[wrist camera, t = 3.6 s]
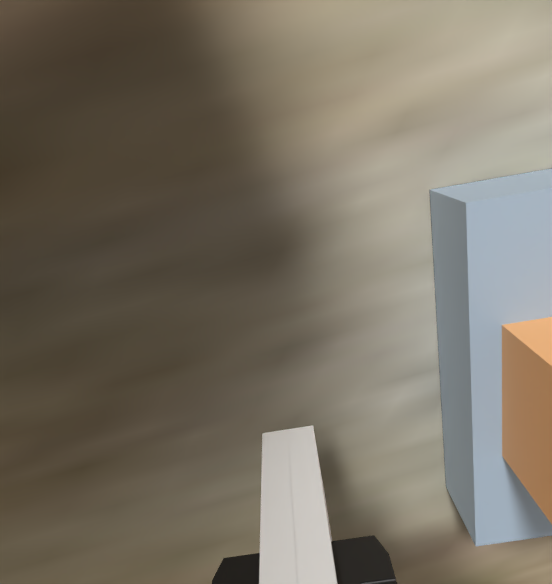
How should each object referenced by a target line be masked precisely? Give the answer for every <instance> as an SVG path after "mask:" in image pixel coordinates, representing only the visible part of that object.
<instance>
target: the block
mask: <svg viewBox="0 0 552 584" xmlns="http://www.w3.org/2000/svg"><path fill="white" fill-rule="evenodd" d="M502 456H503V458H504V459H505V460H506V462H507V463H508V465H509V466H510V467H511V469H512V470H513V472H514V473H515V474H516V476H517V477H518V478H519V480H520V481H521V483H522V484H523V485H524V487H525V488H526V489H527V491H528V492H529V494H530V495H531V496H532V498H533V499H534V501H535V502H536V503H537V505H538V506H539V507H540V509H541V510H542V512H543V513H544V514H545V516H546V517H547V519H548V520H549V521H550V523H551V524H552V317H548V318H542V319H535V320H529V321H523V322H517V323H511V324H504V325H502Z"/></svg>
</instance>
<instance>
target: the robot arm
mask: <svg viewBox="0 0 552 584" xmlns="http://www.w3.org/2000/svg"><path fill="white" fill-rule="evenodd" d="M212 584H397V582H396V579H395V575H394V571H393V568H392V564H391V561H390V557H389V554H388V553H387V551H386V550H385V549H384V548H383V546H382V545H381V544H380V542H379V541H378V540H377V539H376V537H375V536H367V537H360V538H353V539H346V540H339V541H332V537H331V530H330V524H329V517H328V511H327V504H326V498H325V492H324V486H323V480H322V475H321V469H320V463H319V457H318V451H317V445H316V439H315V434H314V428H313V425H312V426H306V427H299V428H293V429H286V430H280V431H273V432H267V433H262V476H261V521H260V553H257V554H250V555H243V556H236V557H229V558H224V559H223V561H222V563H221V565H220V566H219V568H218V570H217V572H216V574H215V576H214V578H213V580H212Z"/></svg>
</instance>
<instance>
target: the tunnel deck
mask: <svg viewBox="0 0 552 584" xmlns="http://www.w3.org/2000/svg"><path fill="white" fill-rule="evenodd" d="M430 205H431V223H432V241H433V259H434V277H435V295H436V314H437V332H438V350H439V368H440V386H441V404H442V422H443V441H444V459H445V477H446V488H447V490H448V492H449V494H450V496H451V498H452V500H453V502H454V504H455V506H456V508H457V510H458V512H459V514H460V516H461V518H462V520H463V522H464V524H465V526H466V528H467V530H468V532H469V534H470V536H471V538H472V540H473V542H474V544H475V546H481V545H488V544H495V543H502V542H509V541H516V540H524V539H531V538H538V537H545V536H552V524H551V523H550V521H549V520H548V519H547V517H546V516H545V514H544V513H543V512H542V510H541V509H540V507H539V506H538V505H537V503H536V502H535V501H534V499H533V498H532V496H531V495H530V494H529V492H528V491H527V489H526V488H525V487H524V485H523V484H522V483H521V481H520V480H519V478H518V477H517V476H516V474H515V473H514V472H513V470H512V469H511V467H510V466H509V465H508V463H507V462H506V460H505V459H504V458H503V456H502V325H504V324H511V323H517V322H523V321H529V320H535V319H542V318H548V317H552V168H551V169H546V170H540V171H534V172H528V173H523V174H517V175H511V176H506V177H500V178H494V179H488V180H483V181H477V182H471V183H465V184H460V185H454V186H448V187H442V188H437V189H431V190H430Z"/></svg>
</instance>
